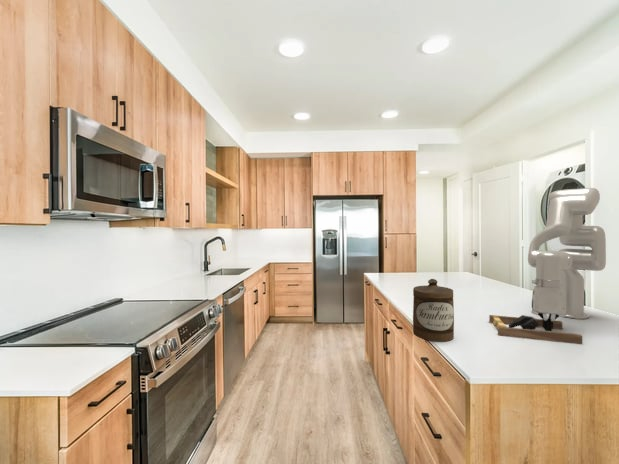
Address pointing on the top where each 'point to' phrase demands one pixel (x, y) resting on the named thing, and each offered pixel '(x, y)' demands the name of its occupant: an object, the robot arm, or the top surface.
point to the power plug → (525, 323)
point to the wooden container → (433, 312)
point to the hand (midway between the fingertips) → (547, 329)
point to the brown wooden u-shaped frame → (533, 334)
